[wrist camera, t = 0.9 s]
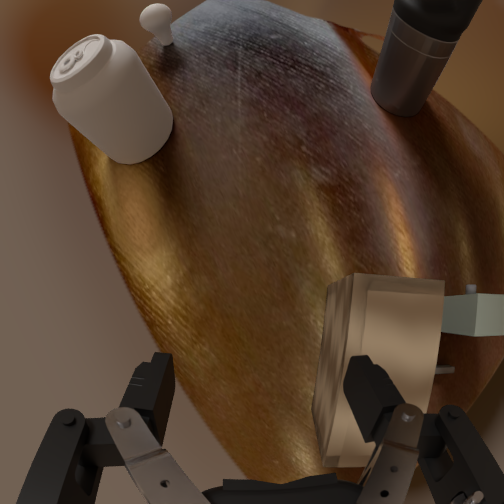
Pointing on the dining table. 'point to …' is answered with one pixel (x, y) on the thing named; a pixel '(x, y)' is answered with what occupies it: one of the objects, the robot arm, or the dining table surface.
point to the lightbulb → (158, 22)
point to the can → (111, 99)
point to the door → (473, 314)
